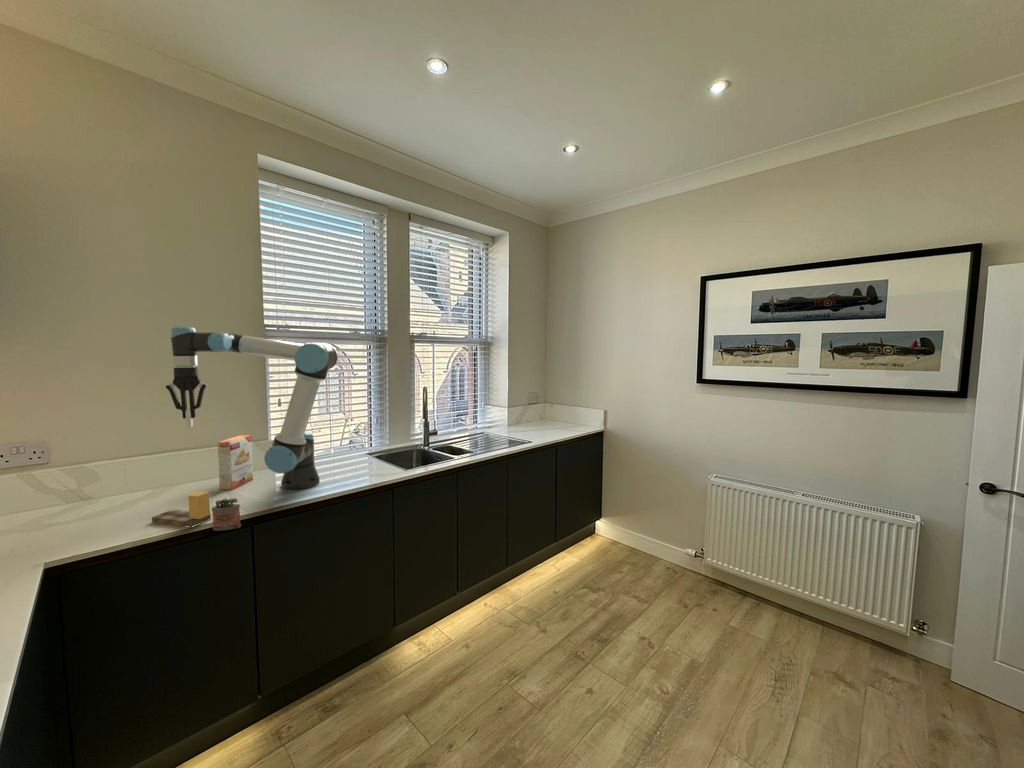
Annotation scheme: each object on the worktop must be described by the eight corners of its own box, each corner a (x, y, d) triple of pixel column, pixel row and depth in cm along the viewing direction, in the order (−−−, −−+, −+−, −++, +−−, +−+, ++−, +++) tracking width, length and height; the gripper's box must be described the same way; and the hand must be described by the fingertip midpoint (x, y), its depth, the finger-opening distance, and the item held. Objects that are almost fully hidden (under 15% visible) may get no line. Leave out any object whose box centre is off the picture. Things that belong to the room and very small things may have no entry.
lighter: (211, 531, 135) (209, 502, 134) (215, 527, 138) (213, 498, 138) (238, 528, 137) (237, 499, 136) (242, 524, 141) (240, 496, 140)
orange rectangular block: (189, 518, 140) (188, 495, 139) (200, 513, 143) (199, 491, 143) (199, 519, 139) (197, 496, 138) (210, 514, 142) (208, 492, 142)
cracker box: (233, 490, 174) (230, 441, 172) (219, 490, 174) (216, 441, 172) (254, 479, 188) (252, 434, 186) (241, 479, 188) (239, 434, 186)
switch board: (152, 522, 142) (151, 516, 141) (172, 514, 148) (172, 509, 148) (191, 527, 138) (190, 521, 138) (210, 519, 145) (210, 513, 144)
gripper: (208, 366, 166) (211, 423, 168) (167, 366, 160) (171, 426, 162) (204, 367, 159) (208, 426, 161) (161, 367, 153) (166, 429, 155)
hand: (189, 426), depth 162 cm, fingers closed
